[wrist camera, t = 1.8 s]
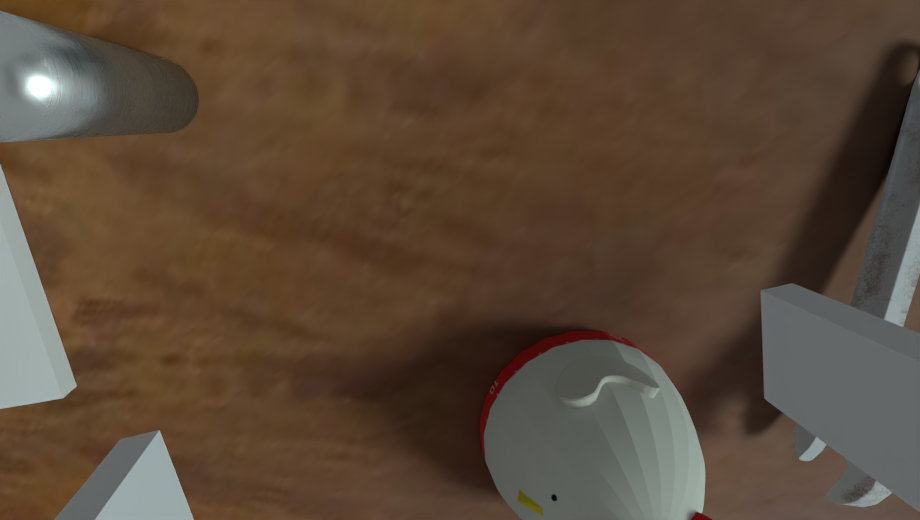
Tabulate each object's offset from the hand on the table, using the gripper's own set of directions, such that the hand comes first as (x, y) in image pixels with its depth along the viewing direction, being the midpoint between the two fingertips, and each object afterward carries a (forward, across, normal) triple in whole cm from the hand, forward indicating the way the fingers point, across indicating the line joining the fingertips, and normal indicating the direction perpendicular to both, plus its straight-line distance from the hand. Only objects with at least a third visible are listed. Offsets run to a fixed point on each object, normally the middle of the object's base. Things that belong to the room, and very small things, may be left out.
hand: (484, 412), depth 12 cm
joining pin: (+23, -12, +10) cm, 28 cm away
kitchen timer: (+23, +8, -16) cm, 29 cm away
